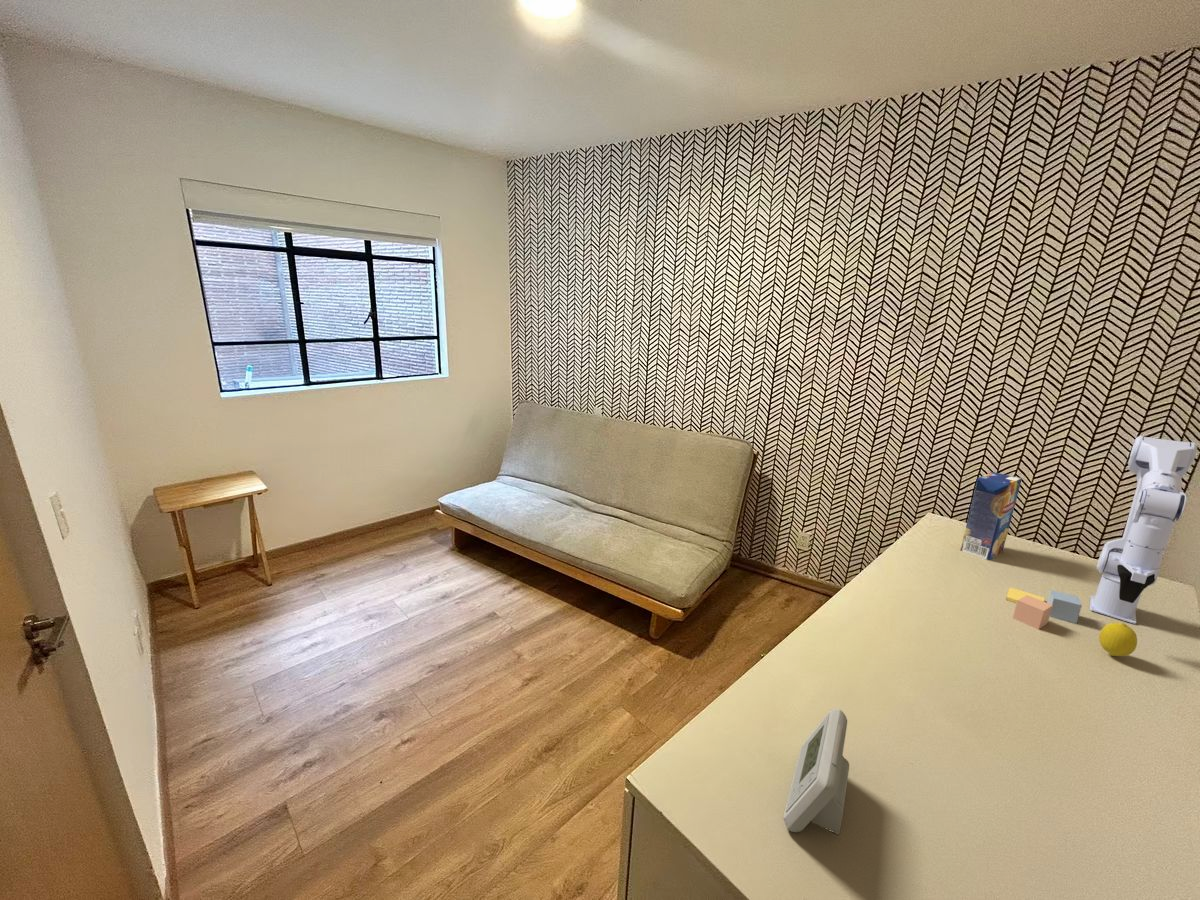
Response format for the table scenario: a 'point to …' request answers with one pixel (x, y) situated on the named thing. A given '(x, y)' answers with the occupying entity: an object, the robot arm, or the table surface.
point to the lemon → (1118, 639)
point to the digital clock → (820, 777)
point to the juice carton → (990, 515)
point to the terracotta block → (1032, 612)
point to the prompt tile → (1020, 595)
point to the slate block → (1064, 606)
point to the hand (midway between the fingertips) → (1126, 600)
